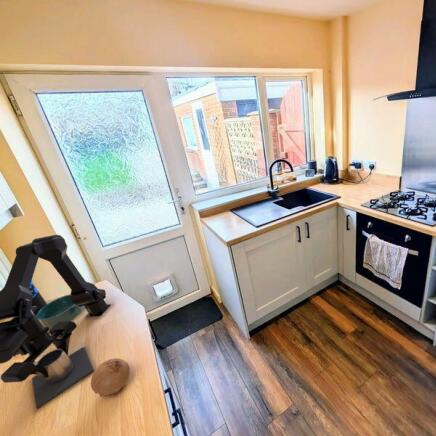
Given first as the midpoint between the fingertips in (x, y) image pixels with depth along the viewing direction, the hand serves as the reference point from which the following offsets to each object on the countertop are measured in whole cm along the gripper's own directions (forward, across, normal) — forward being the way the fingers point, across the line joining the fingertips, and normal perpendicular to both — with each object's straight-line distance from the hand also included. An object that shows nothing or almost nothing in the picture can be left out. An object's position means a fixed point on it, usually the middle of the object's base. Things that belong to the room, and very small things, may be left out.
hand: (56, 366), depth 78 cm
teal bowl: (+5, -27, -24) cm, 36 cm away
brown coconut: (+5, +4, +21) cm, 22 cm away
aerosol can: (+5, -29, -38) cm, 48 cm away
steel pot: (+3, 0, 0) cm, 3 cm away
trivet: (+4, 0, 0) cm, 5 cm away
